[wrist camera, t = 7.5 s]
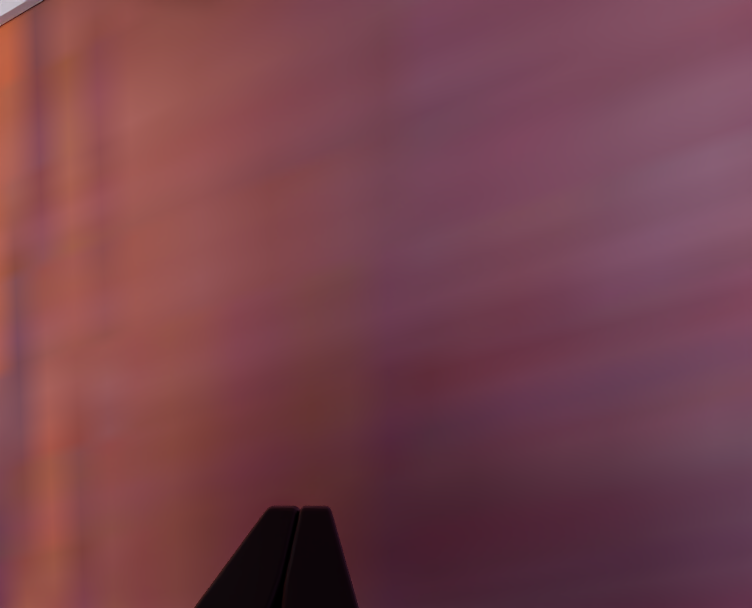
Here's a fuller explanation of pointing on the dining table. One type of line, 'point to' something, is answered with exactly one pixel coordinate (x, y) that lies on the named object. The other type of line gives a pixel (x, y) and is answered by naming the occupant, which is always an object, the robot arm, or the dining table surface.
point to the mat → (14, 8)
